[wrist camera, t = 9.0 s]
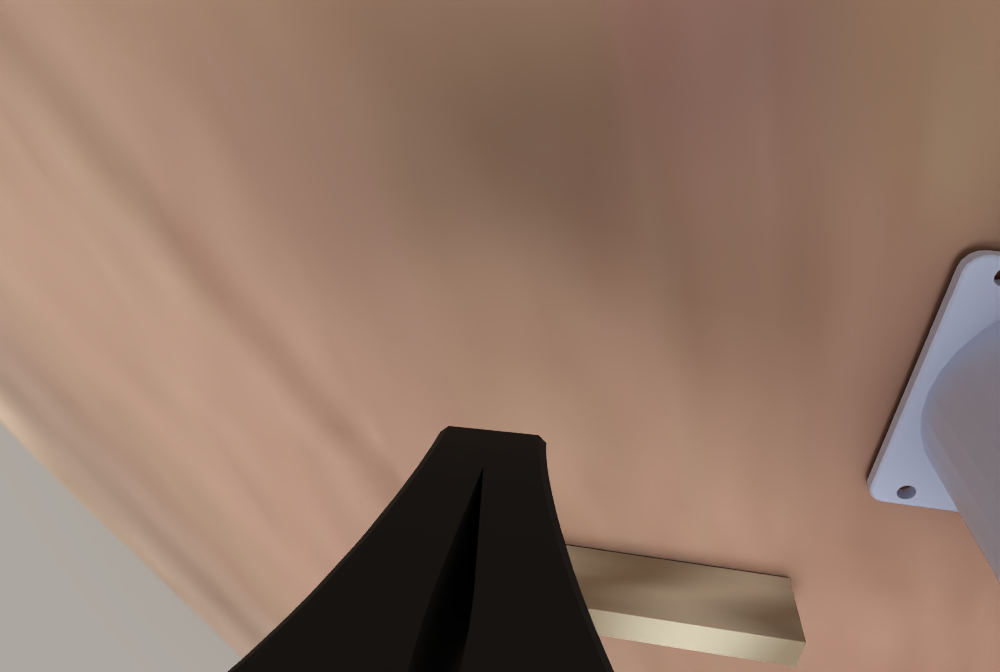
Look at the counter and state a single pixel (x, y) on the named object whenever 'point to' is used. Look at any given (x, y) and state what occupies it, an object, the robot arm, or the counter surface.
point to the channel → (690, 606)
